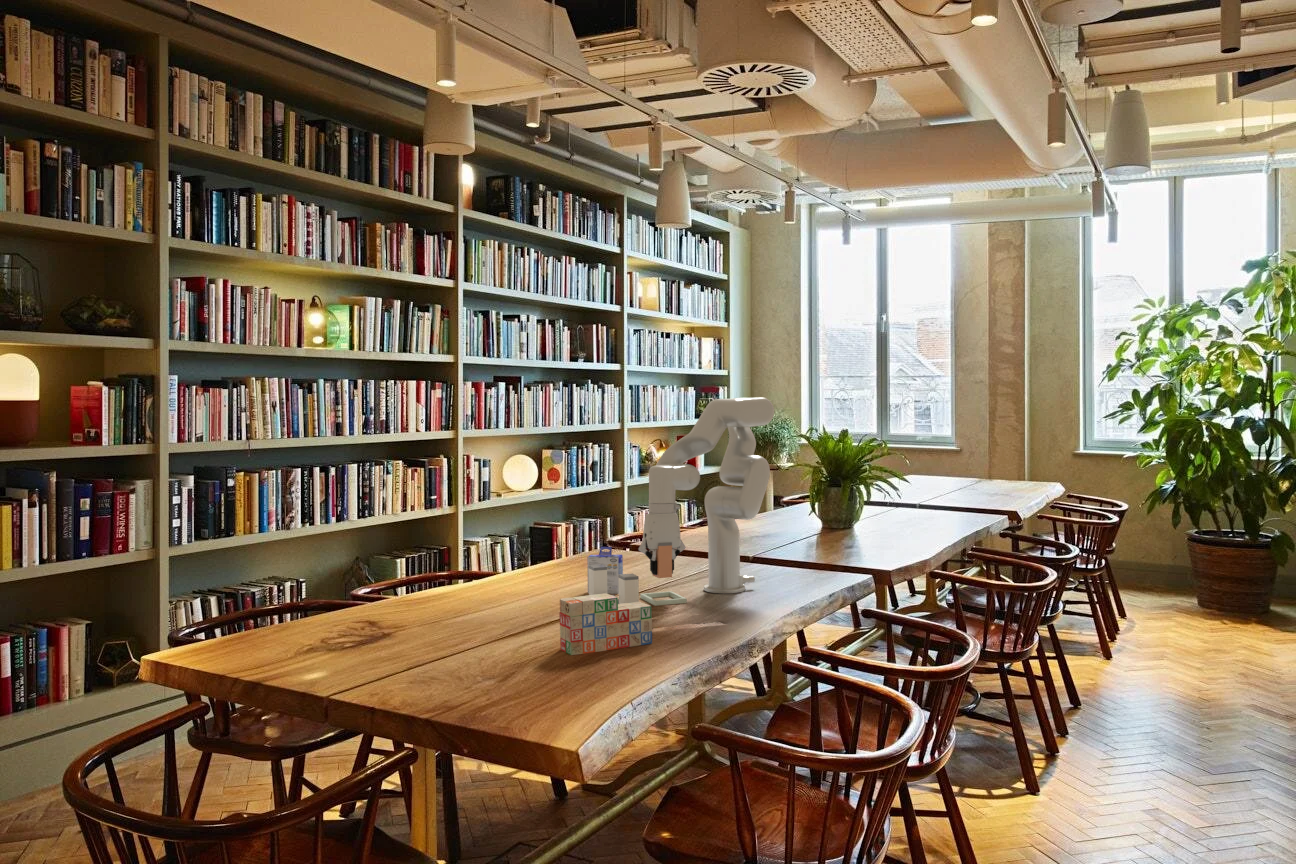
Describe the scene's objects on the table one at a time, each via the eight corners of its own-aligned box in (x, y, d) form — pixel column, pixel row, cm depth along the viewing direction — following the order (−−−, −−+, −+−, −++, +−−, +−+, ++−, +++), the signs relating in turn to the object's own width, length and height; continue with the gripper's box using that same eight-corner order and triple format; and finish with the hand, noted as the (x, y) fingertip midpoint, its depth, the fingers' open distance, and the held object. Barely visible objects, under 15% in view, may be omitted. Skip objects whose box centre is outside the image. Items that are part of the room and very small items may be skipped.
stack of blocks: (640, 639, 247) (639, 588, 247) (652, 644, 241) (652, 593, 241) (559, 650, 237) (559, 597, 236) (570, 656, 231) (569, 602, 231)
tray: (671, 599, 294) (671, 591, 294) (686, 607, 283) (686, 598, 283) (640, 602, 291) (640, 593, 291) (654, 610, 280) (654, 601, 280)
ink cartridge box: (623, 594, 303) (623, 546, 302) (619, 598, 297) (619, 549, 297) (591, 593, 305) (591, 545, 304) (587, 597, 299) (586, 548, 299)
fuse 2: (632, 609, 277) (632, 573, 276) (638, 612, 272) (638, 576, 272) (618, 610, 275) (618, 574, 275) (624, 613, 271) (624, 577, 270)
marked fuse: (665, 574, 289) (665, 540, 289) (672, 577, 285) (672, 542, 284) (652, 575, 288) (652, 541, 288) (658, 578, 283) (658, 543, 283)
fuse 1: (602, 598, 293) (601, 564, 292) (607, 601, 288) (607, 566, 288) (588, 599, 291) (588, 565, 291) (594, 602, 286) (593, 567, 286)
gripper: (684, 507, 292) (684, 570, 293) (629, 509, 287) (629, 573, 287) (694, 509, 285) (694, 574, 286) (638, 511, 280) (638, 577, 280)
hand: (662, 573), depth 286 cm, fingers closed on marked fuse, 4 cm apart
